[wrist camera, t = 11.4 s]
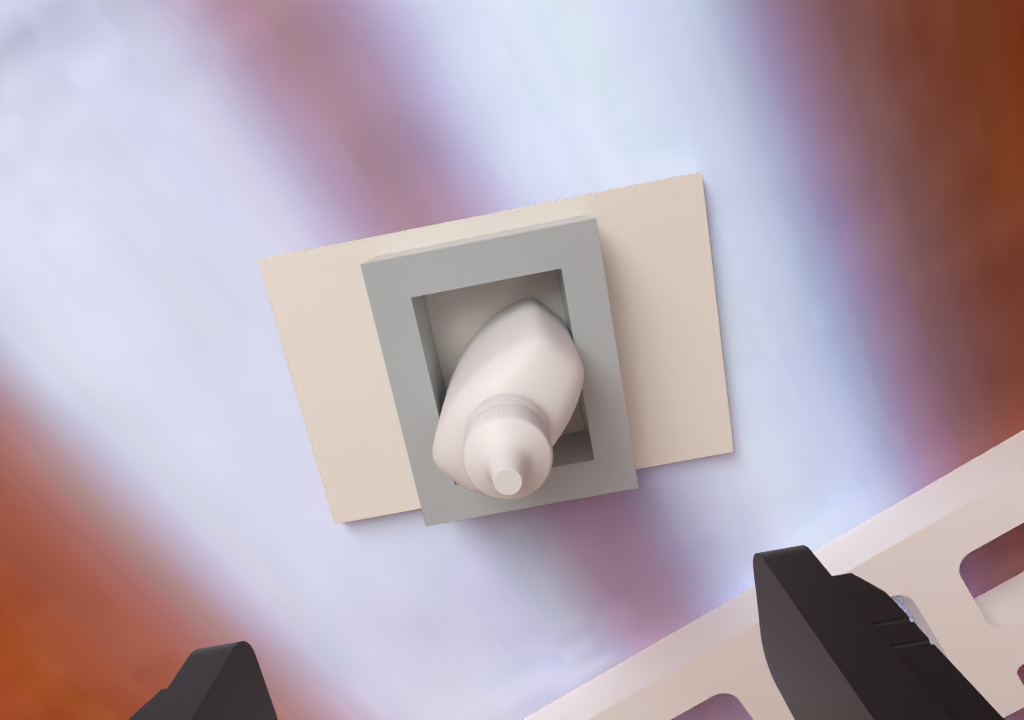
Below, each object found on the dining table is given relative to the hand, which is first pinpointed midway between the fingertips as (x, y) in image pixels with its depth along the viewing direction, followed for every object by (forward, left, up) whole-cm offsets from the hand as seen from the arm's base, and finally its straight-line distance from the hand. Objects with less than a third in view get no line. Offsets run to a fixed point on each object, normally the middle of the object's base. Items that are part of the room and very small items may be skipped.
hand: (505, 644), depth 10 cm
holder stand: (0, 0, -19) cm, 19 cm away
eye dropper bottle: (0, 0, -18) cm, 18 cm away
